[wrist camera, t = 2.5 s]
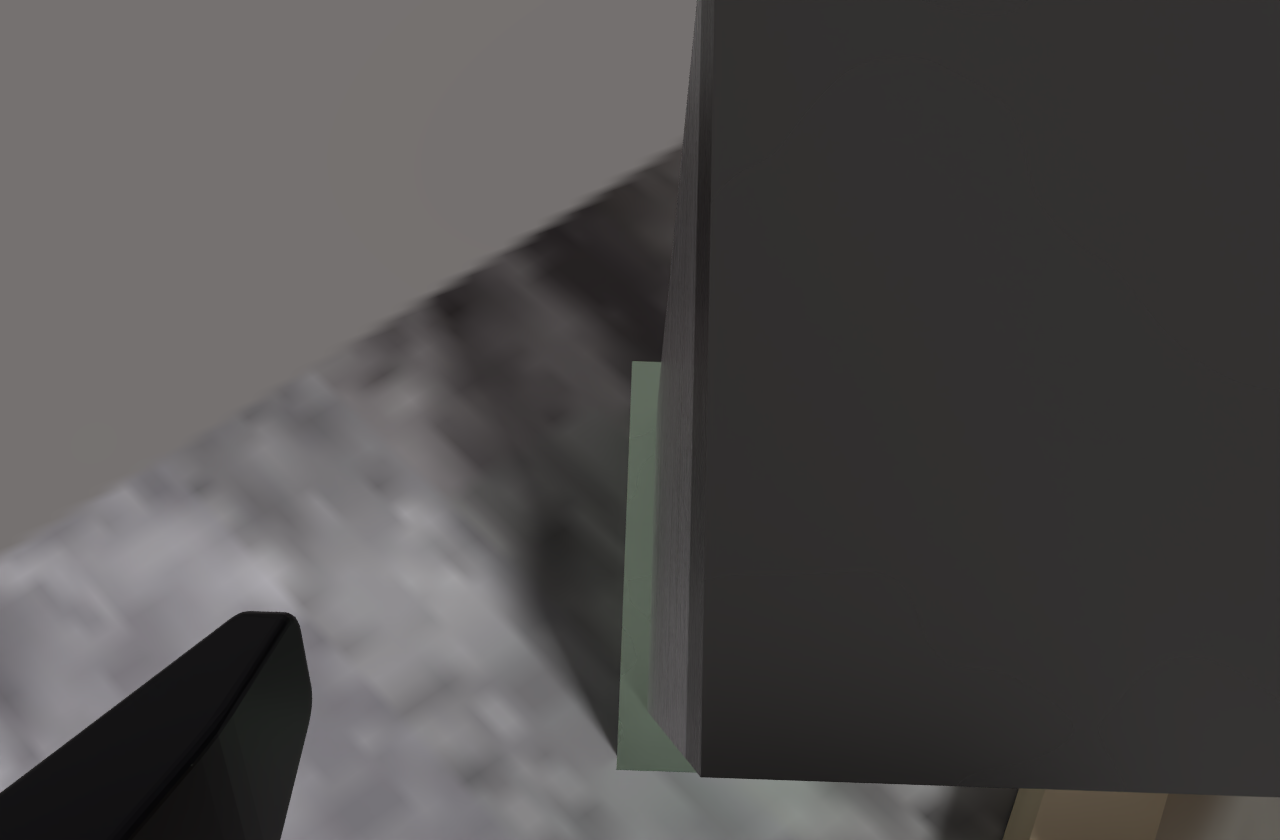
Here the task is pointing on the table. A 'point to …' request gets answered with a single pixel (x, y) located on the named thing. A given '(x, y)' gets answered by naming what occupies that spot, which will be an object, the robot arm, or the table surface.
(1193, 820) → the block holder
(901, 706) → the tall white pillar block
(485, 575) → the table surface
